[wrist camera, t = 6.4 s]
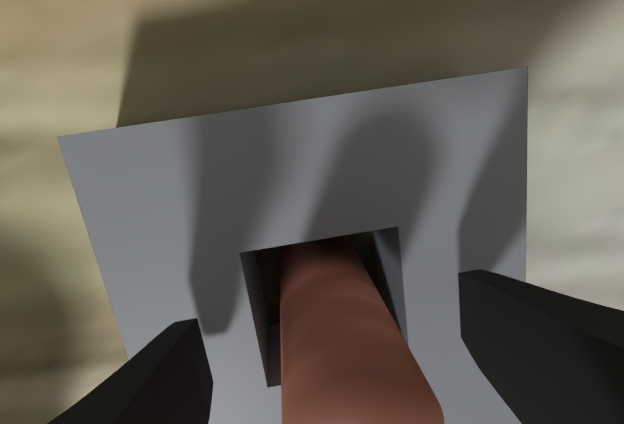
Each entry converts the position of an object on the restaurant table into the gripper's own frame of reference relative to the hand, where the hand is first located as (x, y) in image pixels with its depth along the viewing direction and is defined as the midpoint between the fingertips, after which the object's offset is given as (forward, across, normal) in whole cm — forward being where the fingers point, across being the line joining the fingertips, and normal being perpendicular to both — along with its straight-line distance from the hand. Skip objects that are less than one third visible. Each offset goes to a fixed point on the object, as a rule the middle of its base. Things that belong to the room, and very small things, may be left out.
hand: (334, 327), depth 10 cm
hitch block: (+4, 0, 0) cm, 4 cm away
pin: (+4, 0, 0) cm, 4 cm away
